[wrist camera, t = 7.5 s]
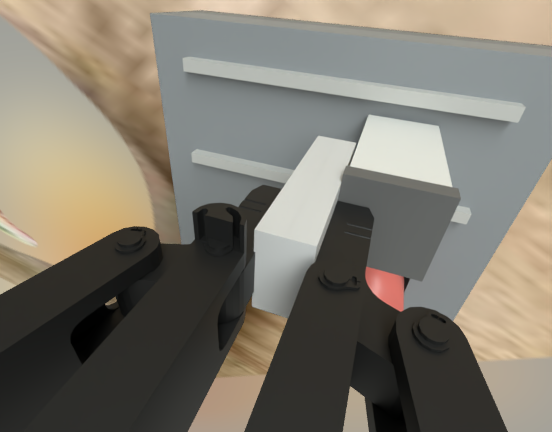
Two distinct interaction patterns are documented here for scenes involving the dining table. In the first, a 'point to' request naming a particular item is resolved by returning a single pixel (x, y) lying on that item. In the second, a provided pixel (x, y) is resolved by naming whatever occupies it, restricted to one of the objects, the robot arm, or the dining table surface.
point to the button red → (386, 287)
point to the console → (354, 118)
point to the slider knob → (401, 193)
